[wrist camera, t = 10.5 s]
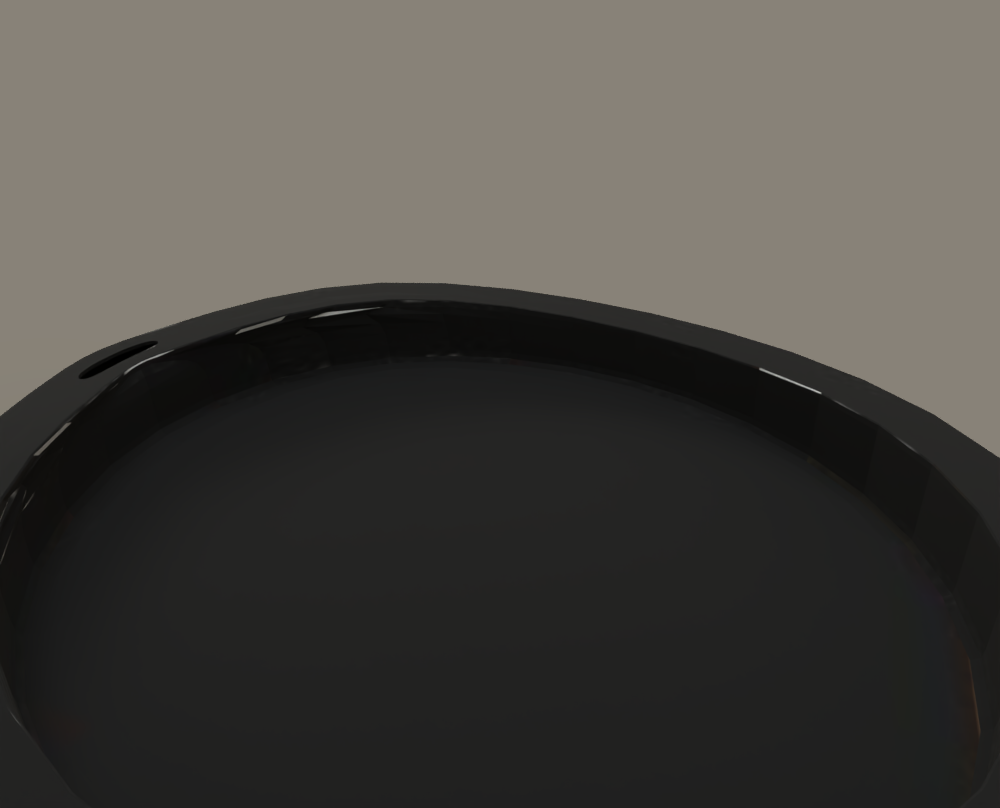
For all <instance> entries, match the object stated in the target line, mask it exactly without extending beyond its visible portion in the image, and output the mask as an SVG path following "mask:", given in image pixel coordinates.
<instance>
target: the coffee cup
mask: <svg viewBox="0 0 1000 808" xmlns="http://www.w3.org/2000/svg"><path fill="white" fill-rule="evenodd" d="M0 808H1000V458H999V457H997V456H995V455H994V454H993V453H991V452H990V451H988V450H987V449H985V448H984V447H982V446H981V445H979V444H978V443H976V442H974V441H973V440H972V439H970V438H969V437H967V436H966V435H964V434H962V433H961V432H959V431H958V430H956V429H955V428H953V427H952V426H950V425H949V424H947V423H946V422H944V421H943V420H941V419H940V418H938V417H937V416H935V415H934V414H932V413H930V412H927V411H925V410H924V409H922V408H920V407H918V406H915V405H913V404H911V403H909V402H907V401H905V400H903V399H901V398H899V397H897V396H895V395H893V394H891V393H889V392H887V391H885V390H883V389H881V388H879V387H877V386H875V385H873V384H871V383H869V382H867V381H865V380H862V379H860V378H857V377H855V376H852V375H850V374H847V373H844V372H842V371H839V370H837V369H834V368H832V367H829V366H826V365H824V364H821V363H818V362H816V361H813V360H811V359H808V358H806V357H803V356H801V355H798V354H795V353H793V352H790V351H786V350H783V349H780V348H776V347H773V346H770V345H767V344H763V343H760V342H757V341H754V340H750V339H747V338H743V337H740V336H737V335H734V334H730V333H727V332H724V331H721V330H716V329H713V328H708V327H705V326H700V325H696V324H692V323H688V322H684V321H680V320H676V319H672V318H668V317H664V316H660V315H656V314H652V313H647V312H642V311H637V310H631V309H627V308H622V307H617V306H612V305H606V304H601V303H596V302H591V301H586V300H580V299H574V298H567V297H561V296H554V295H548V294H540V293H533V292H527V291H520V290H514V289H503V288H492V287H480V286H469V285H457V284H446V283H374V284H363V285H352V286H340V287H330V288H321V289H315V290H309V291H304V292H298V293H293V294H288V295H282V296H277V297H272V298H266V299H262V300H258V301H254V302H250V303H247V304H243V305H239V306H235V307H231V308H227V309H223V310H219V311H216V312H212V313H209V314H205V315H202V316H199V317H196V318H192V319H189V320H186V321H183V322H180V323H176V324H173V325H170V326H167V327H164V328H160V329H157V330H154V331H151V332H148V333H145V334H142V335H139V336H136V337H133V338H130V339H127V340H124V341H121V342H119V343H117V344H114V345H111V346H108V347H106V348H103V349H101V350H99V351H97V352H94V353H92V354H90V355H88V356H86V357H84V358H82V359H80V360H79V361H77V362H75V363H74V364H72V365H70V366H69V367H67V368H65V369H64V370H63V371H61V372H60V373H58V374H57V375H55V376H54V377H52V378H51V379H49V380H48V381H46V382H45V383H44V384H42V385H41V386H39V387H38V388H37V389H35V390H34V391H33V392H31V393H30V394H28V395H27V396H26V397H24V398H23V399H22V400H21V401H19V402H18V403H17V404H15V405H14V406H13V407H11V408H10V409H9V410H8V411H6V412H5V413H4V414H2V415H1V416H0Z"/></svg>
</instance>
